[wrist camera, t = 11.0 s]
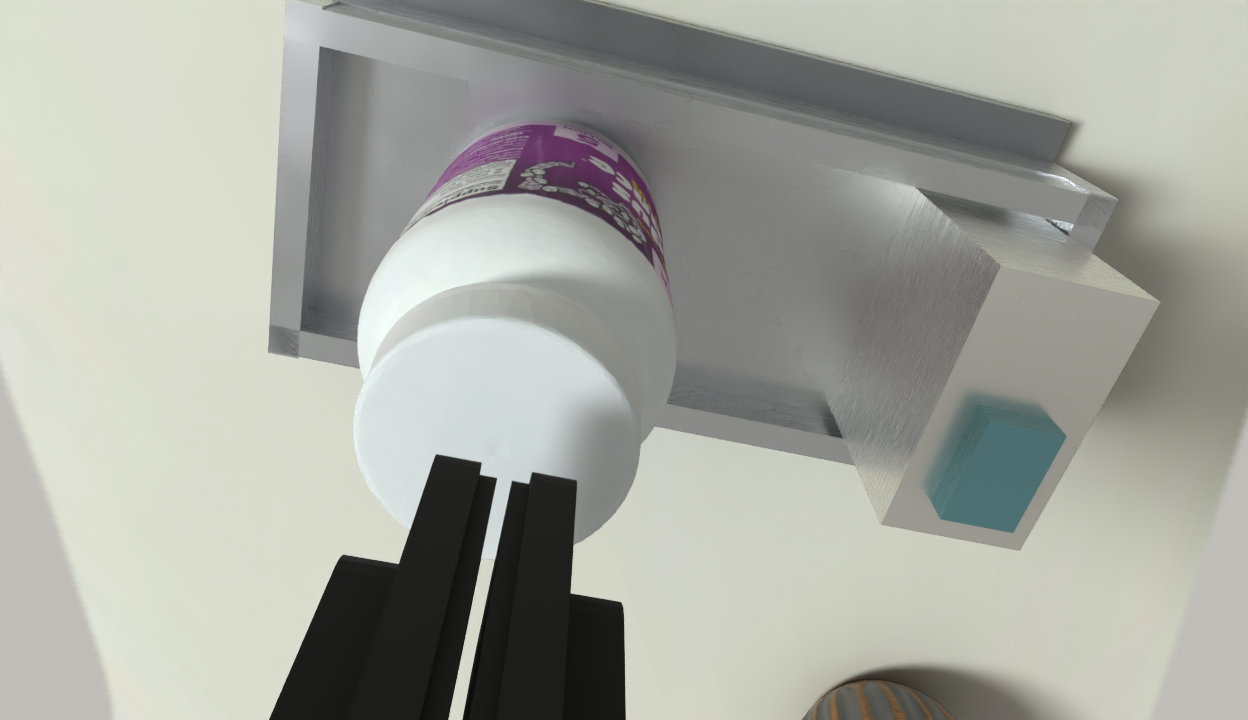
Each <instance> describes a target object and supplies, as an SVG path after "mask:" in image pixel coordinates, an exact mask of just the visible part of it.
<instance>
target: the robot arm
mask: <svg viewBox="0 0 1248 720" xmlns="http://www.w3.org/2000/svg"><path fill="white" fill-rule="evenodd" d="M481 465H482V462H477V461H471V460H466V459H460V458H455V457H450V456H444V455H439V454H436V455H435V458H434V460H433V463H432V466H431V469H430V472H429V475H428V478H427V481H426V484H425V487H424V490H423V493H422V496H421V499H420V502H419V505H418V508H417V511H416V514H415V517H414V520H413V523H412V526H411V529H410V532H409V535H408V538H407V541H406V544H405V547H404V550H403V553H402V556H401V559H400V562H399V564H395V563H389V562H383V561H377V560H371V559H365V558H359V557H354V556H348V555H342V556H341V557H340V559H339V560H338V562H337V564H336V566H335V568H334V570H333V573H332V575H331V577H330V580H329V582H328V584H327V586H326V589H325V591H324V593H323V596H322V598H321V600H320V603H319V605H318V607H317V610H316V612H315V614H314V617H313V619H312V621H311V624H310V626H309V628H308V631H307V633H306V635H305V638H304V640H303V642H302V645H301V647H300V649H299V652H298V654H297V656H296V658H295V661H294V663H293V665H292V668H291V670H290V672H289V675H288V677H287V679H286V682H285V684H284V686H283V689H282V691H281V693H280V696H279V698H278V700H277V703H276V705H275V707H274V710H273V712H272V714H271V717H270V719H269V720H448V718H449V713H450V708H451V704H452V699H453V694H454V689H455V684H456V679H457V674H458V670H459V665H460V660H461V655H462V650H463V645H464V640H465V635H466V630H467V625H468V620H469V615H470V611H471V606H472V601H473V596H474V591H475V586H476V581H477V576H478V571H479V566H480V561H481V556H482V551H483V546H484V541H485V536H486V532H487V527H488V522H489V517H490V512H491V507H492V502H493V497H494V492H495V487H496V482H497V478H495V477H490V476H484V475H480V471H481ZM576 496H577V480H573V479H568V478H563V477H557V476H552V475H546V474H541V473H536V472H532V474H531V478H530V482H529V484H527V483H522V482H517V481H512V483H511V487H510V492H509V496H508V501H507V506H506V511H505V515H504V520H503V525H502V529H501V534H500V539H499V544H498V548H497V553H496V558H495V562H494V567H493V572H492V577H491V581H490V586H489V591H488V595H487V600H486V605H485V610H484V614H483V619H482V624H481V628H480V633H479V638H478V643H477V647H476V652H475V657H474V662H473V667H472V672H471V678H470V683H469V688H468V694H467V699H466V704H465V710H464V715H463V720H626V711H625V649H624V612H623V606H622V603H621V602H617V601H611V600H605V599H599V598H594V597H588V596H582V595H576V594H570V591H571V575H572V559H573V543H574V528H575V512H576Z"/></svg>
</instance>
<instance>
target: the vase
mask: <svg viewBox="0 0 1248 720" xmlns="http://www.w3.org/2000/svg"><path fill="white" fill-rule="evenodd" d="M802 720H956V719H955V718H954V717H953V715H952V714H951V713H949V712H948V711H947V710H946V709H945V708H944V707H943V706H941V705H940V704H939V703H938V702H937V701H935V700H934V699H932V698H930V697H929V696H927V695H925V694H923V693H921V692H919V691H917V690H915V689H913V688H910V687H908V686H904V685H901V684H897V683H893V682H888V681H882V680H863V681H856V682H852V683H848V684H845V685H843V686H840V687H838V688H836V689H834V690H832V691H831V692H829V693H828V694H826V695H825V696H824V697H823V698H821V699H820V700H819V701H818V702H817V703H816V704H815V705H814V706H813V707H812V708H811V709H810V710H809V711H808V712H807V714H806V715H805V716H804V718H803V719H802Z"/></svg>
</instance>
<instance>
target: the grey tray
mask: <svg viewBox="0 0 1248 720" xmlns="http://www.w3.org/2000/svg"><path fill="white" fill-rule="evenodd" d="M539 118H544V119H558V120H563V121H567V122H572V123H576V124H580V125H583V126H585V127H587V128H590V129H594V130H595V131H597V132H598V133H600V134H602V135H603V136H605V137H607V138H608V139H610V140H611V141H613V142H614V143H615V144H617V145H618V146H619V147H620V148H621V149H622V150H623V151H624V152H625V153H626V154H627V155H628V156H629V157H630V158H631V159H632V160H633V161H634V162H635V164H636V165H637V166H638V168H639V169H640V171H641V172H642V174H643V175H644V177H645V179H646V181H647V183H648V184H649V186H650V188H651V191H652V194H653V197H654V200H655V204H656V208H657V212H658V218H659V223H660V228H661V233H662V239H663V246H664V252H665V259H666V266H667V271H668V277H669V285H670V291H671V297H672V304H673V311H674V316H675V324H676V338H677V360H676V370H675V376H674V380H673V385H672V389H671V392H670V395H669V398H668V401H667V404H666V406H665V409H664V411H663V413H662V414H661V416H660V418H659V420H658V422H657V423H656V425H655V426H656V427H661V428H666V429H671V430H676V431H681V432H686V433H692V434H697V435H702V436H707V437H712V438H717V439H722V440H727V441H732V442H738V443H743V444H748V445H753V446H758V447H763V448H768V449H773V450H778V451H784V452H789V453H794V454H799V455H804V456H809V457H814V458H819V459H824V460H830V461H835V462H840V463H845V464H850V465H855V467H856V469H857V471H858V473H859V476H860V478H861V480H862V483H863V485H864V487H865V489H866V492H867V494H868V496H869V499H870V501H871V503H872V506H873V508H874V510H875V512H876V515H877V517H878V519H879V522H880V524H881V525H886V526H891V527H896V528H902V529H907V530H912V531H918V532H923V533H928V534H934V535H939V536H944V537H950V538H955V539H960V540H966V541H971V542H976V543H981V544H987V545H992V546H997V547H1003V548H1008V549H1013V550H1019V551H1020V550H1021V548H1022V546H1023V545H1024V543H1025V541H1026V539H1027V537H1028V536H1029V534H1030V532H1031V530H1032V529H1033V527H1034V525H1035V523H1036V522H1037V520H1038V518H1039V516H1040V515H1041V513H1042V511H1043V509H1044V507H1045V506H1046V504H1047V502H1048V500H1049V499H1050V497H1051V495H1052V493H1053V492H1054V490H1055V488H1056V486H1057V485H1058V483H1059V481H1060V479H1061V477H1062V476H1063V474H1064V472H1065V470H1066V469H1067V467H1068V465H1069V463H1070V462H1071V460H1072V458H1073V456H1074V454H1075V453H1076V451H1077V449H1078V447H1079V446H1080V444H1081V442H1082V440H1083V439H1084V437H1085V435H1086V433H1087V432H1088V430H1089V428H1090V426H1091V424H1092V423H1093V421H1094V419H1095V417H1096V416H1097V414H1098V412H1099V410H1100V409H1101V407H1102V405H1103V403H1104V402H1105V400H1106V398H1107V396H1108V394H1109V393H1110V391H1111V389H1112V387H1113V386H1114V384H1115V382H1116V380H1117V379H1118V377H1119V375H1120V373H1121V372H1122V370H1123V368H1124V366H1125V364H1126V363H1127V361H1128V359H1129V357H1130V356H1131V354H1132V352H1133V350H1134V349H1135V347H1136V345H1137V343H1138V341H1139V340H1140V338H1141V336H1142V334H1143V333H1144V331H1145V329H1146V327H1147V326H1148V324H1149V322H1150V320H1151V319H1152V317H1153V315H1154V313H1155V311H1156V310H1157V308H1158V306H1159V304H1160V303H1161V302H1160V301H1159V300H1157V299H1156V298H1154V297H1153V296H1152V295H1150V294H1149V293H1147V292H1146V291H1144V290H1143V289H1142V288H1140V287H1139V286H1137V285H1136V284H1135V283H1133V282H1132V281H1130V280H1129V279H1128V278H1126V277H1125V276H1123V275H1122V274H1121V273H1119V272H1118V271H1116V270H1115V269H1114V268H1112V267H1111V266H1109V265H1108V264H1107V263H1105V262H1104V261H1102V260H1101V259H1100V258H1098V257H1097V256H1095V255H1094V254H1092V252H1093V250H1094V248H1095V246H1096V244H1097V242H1098V240H1099V238H1100V236H1101V234H1102V233H1103V231H1104V229H1105V227H1106V225H1107V223H1108V221H1109V219H1110V217H1111V215H1112V213H1113V211H1114V209H1115V207H1116V205H1117V203H1118V201H1119V199H1117V198H1116V197H1114V196H1112V195H1110V194H1109V193H1107V192H1105V191H1103V190H1101V189H1100V188H1098V187H1096V186H1094V185H1093V184H1091V183H1089V182H1087V181H1086V180H1084V179H1082V178H1080V177H1079V176H1077V175H1075V174H1073V173H1072V172H1070V171H1068V170H1066V169H1064V168H1063V167H1061V166H1059V165H1057V164H1056V163H1054V160H1055V158H1056V156H1057V154H1058V151H1059V149H1060V147H1061V145H1062V143H1063V141H1064V139H1065V136H1066V134H1067V132H1068V130H1069V128H1070V126H1071V124H1072V123H1070V122H1068V121H1066V120H1064V119H1061V118H1059V117H1057V116H1053V115H1049V114H1045V113H1041V112H1037V111H1033V110H1029V109H1025V108H1021V107H1017V106H1013V105H1009V104H1005V103H1002V102H998V101H994V100H990V99H986V98H982V97H978V96H974V95H970V94H966V93H962V92H958V91H954V90H950V89H946V88H942V87H938V86H934V85H930V84H926V83H922V82H918V81H914V80H910V79H906V78H902V77H898V76H894V75H890V74H886V73H882V72H878V71H874V70H870V69H866V68H862V67H858V66H854V65H851V64H847V63H843V62H839V61H835V60H831V59H827V58H823V57H819V56H815V55H811V54H807V53H803V52H799V51H795V50H791V49H787V48H783V47H779V46H775V45H771V44H767V43H763V42H759V41H755V40H751V39H747V38H743V37H739V36H735V35H731V34H727V33H723V32H719V31H715V30H711V29H707V28H703V27H699V26H696V25H692V24H688V23H684V22H680V21H676V20H672V19H668V18H664V17H660V16H656V15H652V14H648V13H644V12H640V11H636V10H632V9H628V8H624V7H620V6H616V5H612V4H608V3H604V2H600V1H596V0H286V9H285V29H284V49H283V69H282V89H281V108H280V128H279V148H278V168H277V188H276V208H275V227H274V247H273V267H272V287H271V307H270V326H269V346H268V353H273V354H278V355H283V356H288V357H293V358H299V357H303V358H308V359H313V360H318V361H323V362H328V363H334V364H339V365H344V366H349V367H354V368H359V369H360V365H359V358H358V345H357V337H358V324H359V316H360V312H361V307H362V304H363V301H364V298H365V295H366V292H367V289H368V287H369V284H370V282H371V280H372V277H373V275H374V273H375V272H376V270H377V268H378V267H379V265H380V263H381V261H382V259H383V258H384V257H385V255H386V254H387V252H388V251H389V250H390V248H391V247H392V246H393V244H394V243H395V242H396V240H397V239H398V237H399V236H400V235H401V234H402V232H403V231H404V229H405V228H406V227H407V225H408V224H409V222H410V221H411V219H412V218H413V216H414V215H415V214H416V212H417V211H418V209H419V207H420V206H421V205H422V203H423V202H424V200H425V199H426V197H427V196H428V194H429V193H430V192H431V190H432V189H433V187H434V186H435V184H436V183H437V181H438V180H439V179H440V177H441V176H442V175H443V173H444V172H445V170H446V169H447V167H448V166H449V165H450V164H451V163H452V161H453V160H454V159H455V158H456V157H457V156H458V154H459V153H460V152H461V151H462V150H463V149H464V148H466V147H467V146H468V145H469V144H470V143H471V142H473V141H474V140H475V139H477V138H478V137H480V136H481V135H483V134H484V133H486V132H488V131H490V130H492V129H494V128H496V127H499V126H502V125H505V124H508V123H512V122H515V121H521V120H527V119H539Z"/></svg>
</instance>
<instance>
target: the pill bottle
mask: <svg viewBox="0 0 1248 720" xmlns="http://www.w3.org/2000/svg"><path fill="white" fill-rule="evenodd" d="M357 345H358V358H359V365H360V370H361V374H362V378H363V382H364V384H363V386H362V388H361V390H360V393H359V396H358V400H357V403H356V406H355V413H354V421H353V439H354V446H355V453H356V457H357V461H358V464H359V467H360V469H361V471H362V474H363V476H364V478H365V480H366V482H367V484H368V486H369V487H370V489H371V491H372V493H373V494H374V495H375V496H376V498H377V499H378V500H379V502H380V503H381V504H382V505H383V507H384V508H385V509H386V510H387V511H388V513H389V514H390V515H391V516H393V517H394V518H395V519H396V520H397V521H398V522H400V523H401V524H402V525H403V526H404V527H406V528H407V529H409V530H410V529H411V526H412V523H413V520H414V517H415V514H416V511H417V508H418V505H419V502H420V499H421V496H422V493H423V490H424V487H425V484H426V481H427V478H428V475H429V472H430V469H431V466H432V463H433V460H434V458H435V455H436V454H439V455H444V456H450V457H455V458H460V459H466V460H471V461H477V462H482V465H481V471H480V475H484V476H490V477H495V478H497V482H496V487H495V492H494V497H493V502H492V507H491V512H490V517H489V522H488V527H487V532H486V536H485V541H484V546H483V551H482V556H481V559H489V560H495V558H496V553H497V548H498V544H499V539H500V534H501V529H502V525H503V520H504V515H505V511H506V506H507V501H508V496H509V492H510V487H511V483H512V481H517V482H522V483H527V484H529V482H530V478H531V474H532V472H536V473H541V474H546V475H552V476H557V477H563V478H568V479H573V480H577V496H576V512H575V528H574V543H573V545H574V544H576V543H579V542H581V541H583V540H584V539H585V538H587V537H588V536H590V535H592V534H593V533H594V532H595V531H597V530H598V529H600V528H601V527H602V525H604V524H605V523H606V522H607V521H608V520H609V519H610V518H611V517H612V516H613V515H614V514H615V512H616V511H617V510H618V508H619V507H620V505H621V504H622V503H623V501H624V500H625V498H626V496H627V494H628V492H629V490H630V488H631V486H632V484H633V481H634V478H635V475H636V471H637V468H638V464H639V455H640V446H641V444H642V442H643V441H644V440H645V439H646V438H647V437H648V435H649V434H650V432H651V431H652V429H653V428H654V426H655V425H656V423H657V422H658V420H659V418H660V416H661V414H662V413H663V411H664V409H665V406H666V404H667V401H668V398H669V395H670V392H671V389H672V385H673V380H674V376H675V370H676V360H677V338H676V324H675V316H674V311H673V304H672V297H671V291H670V285H669V277H668V271H667V266H666V259H665V252H664V246H663V239H662V233H661V228H660V223H659V218H658V212H657V208H656V204H655V200H654V197H653V194H652V191H651V188H650V186H649V184H648V183H647V181H646V179H645V177H644V175H643V174H642V172H641V171H640V169H639V168H638V166H637V165H636V164H635V162H634V161H633V160H632V159H631V158H630V157H629V156H628V155H627V154H626V153H625V152H624V151H623V150H622V149H621V148H620V147H619V146H618V145H617V144H615V143H614V142H613V141H611V140H610V139H608V138H607V137H605V136H603V135H602V134H600V133H598V132H597V131H595V130H594V129H590V128H587V127H585V126H583V125H580V124H576V123H572V122H567V121H563V120H558V119H544V118H539V119H527V120H521V121H515V122H512V123H508V124H505V125H502V126H499V127H496V128H494V129H492V130H490V131H488V132H486V133H484V134H483V135H481V136H480V137H478V138H477V139H475V140H474V141H473V142H471V143H470V144H469V145H468V146H467V147H466V148H464V149H463V150H462V151H461V152H460V153H459V154H458V156H457V157H456V158H455V159H454V160H453V161H452V163H451V164H450V165H449V166H448V167H447V169H446V170H445V172H444V173H443V175H442V176H441V177H440V179H439V180H438V181H437V183H436V184H435V186H434V187H433V189H432V190H431V192H430V193H429V194H428V196H427V197H426V199H425V200H424V202H423V203H422V205H421V206H420V207H419V209H418V211H417V212H416V214H415V215H414V216H413V218H412V219H411V221H410V222H409V224H408V225H407V227H406V228H405V229H404V231H403V232H402V234H401V235H400V236H399V237H398V239H397V240H396V242H395V243H394V244H393V246H392V247H391V248H390V250H389V251H388V252H387V254H386V255H385V257H384V258H383V259H382V261H381V263H380V265H379V267H378V268H377V270H376V272H375V273H374V275H373V277H372V280H371V282H370V284H369V287H368V289H367V292H366V295H365V298H364V301H363V304H362V307H361V312H360V316H359V324H358V337H357Z"/></svg>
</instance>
